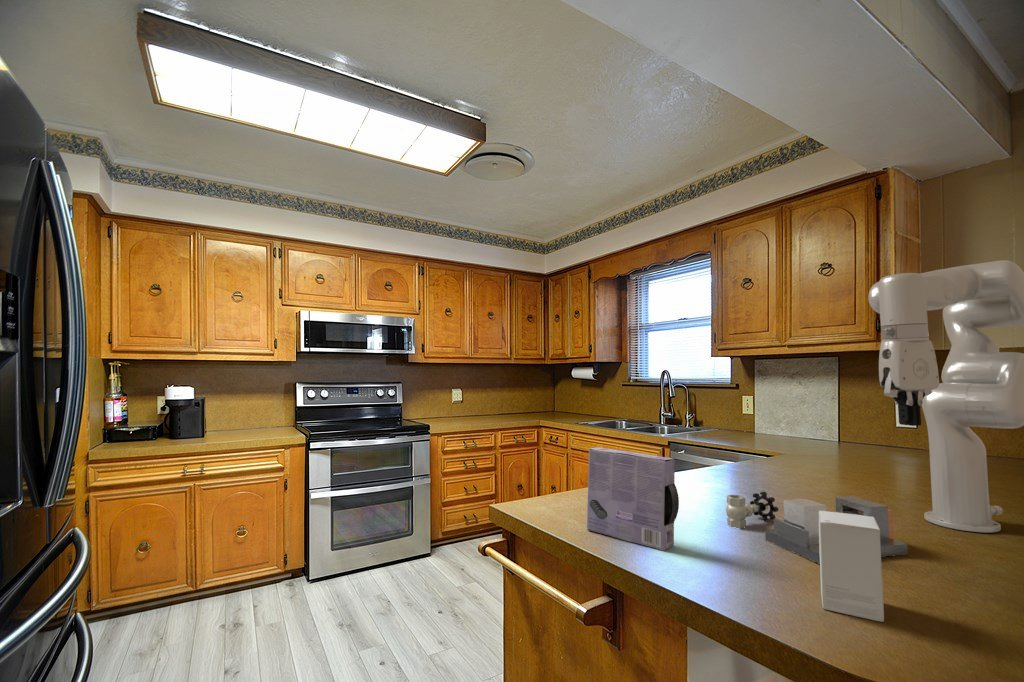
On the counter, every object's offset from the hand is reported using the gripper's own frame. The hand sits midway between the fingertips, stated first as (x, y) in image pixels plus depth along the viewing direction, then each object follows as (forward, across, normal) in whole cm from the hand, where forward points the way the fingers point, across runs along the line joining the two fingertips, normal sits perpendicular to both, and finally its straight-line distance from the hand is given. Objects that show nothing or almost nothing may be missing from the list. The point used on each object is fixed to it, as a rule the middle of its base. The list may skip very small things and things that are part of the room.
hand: (910, 424), depth 98 cm
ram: (+21, -14, +2) cm, 25 cm away
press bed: (+23, -18, +2) cm, 29 cm away
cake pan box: (+23, -54, +16) cm, 61 cm away
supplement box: (+23, -36, -18) cm, 46 cm away
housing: (+21, -24, +2) cm, 32 cm away
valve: (+24, -24, +18) cm, 39 cm away
